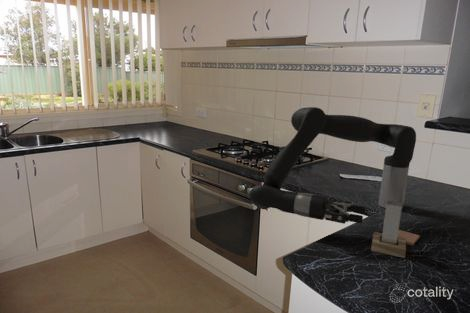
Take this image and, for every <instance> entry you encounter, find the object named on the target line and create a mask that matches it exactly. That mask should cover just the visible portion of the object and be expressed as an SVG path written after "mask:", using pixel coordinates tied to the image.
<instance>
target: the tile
mask: <svg viewBox="0 0 470 313" xmlns="http://www.w3.org/2000/svg"><path fill="white" fill-rule="evenodd" d="M398 237H403V238H405V240H406V245H409V246H414V245H415V243H417V241H418V240H419V239H420V235H418V234H416V233H415V234H414V233H413V232H412V233H411V232H408V231H404V230H401V229H399V230H398Z"/></svg>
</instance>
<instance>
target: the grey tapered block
mask: <svg viewBox="0 0 470 313" xmlns="http://www.w3.org/2000/svg"><path fill="white" fill-rule="evenodd" d="M402 210H403V209H402V203H399V202H393V201H387V204H386V208H385V213H384V218H383V219H384V220H383V226H382V241H381V242H383V243H388V244H393V245H396V243H397V237H398V230H400V229H399V228H400V222H401V216H402Z"/></svg>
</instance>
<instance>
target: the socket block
mask: <svg viewBox="0 0 470 313" xmlns="http://www.w3.org/2000/svg"><path fill="white" fill-rule="evenodd" d="M382 233H383V232H382ZM382 233H380V232H376V231H374V232H373V233H372V234H373V235H372V242H371V247H370V248H371V249H370V251H371V252H373V253H380V254H384V255H389V256H393V257H399V258H402V259H405V258H406V252H407V244H406V240H405V238H403V237H397V243H396V245H393V244H388V243H383V242H381V241H382Z"/></svg>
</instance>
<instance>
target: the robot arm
mask: <svg viewBox="0 0 470 313" xmlns="http://www.w3.org/2000/svg"><path fill="white" fill-rule="evenodd" d="M290 121H291V122H290V123H291V125H292V127H293V128H294V130H295V131H297V133H296V134H295V135H294V137H293V138H292V139H291V140H290V141H289V142H288V143H287V144H286V145H285V146H284V147H283V148H282V149H281V150H280V151H279V152H278V153H277V154H276V156H275V157H274V159H273V160H272V161H271V163H270V164H269V166H268V168H267V169H266V172H265V173H264V181H263V184H258V185H256V186H253V187H252V188H251V189H250V191H249V199H250V202H251V203H252V204H253V205H255V206H256V207H257V208H259V209H261V210H268V209H270V208H272V209H277V210H279V211H281V212H284V213H287V214H288V213H289V214H292V215H293V214H294V215H298V216H300V217H304V218H310V219H315V220H320V221H321V220H322V221H323V220H326V221H328V222H329V221H331V222H335V223H340V224H342V225H343V224H346V223H348V222H351V223H357V224H362V223H363V220H364V219H363V218H364V217H363V215H364V214H366V207H365V206H360V205H355V204H353V203H352V202H351V201H346V200H339V199H336V198H335V199H332V202H328V197H327V196H326V195H321V194H314V193H313V194H312V193H308V192H296V191H291V190H283V189H281V188H282V186H283V184H284V182H285V181H286V179H287V178H288V176H289V174H290V173H291V171H292V170H293V168H294V166H295V165H296V163H297V162H298V161H299V159H300V158H301V156H302V155H303V154H304V153H305V151H306V150H307V149H308V148H309V146H310V145H311V144H312V142H314V140H315V139H317V137H318V136H319V135H326V136H330V137H332V138H335V139H341V140H345V141H349V142H355V143H369V142H375V143H379V144H381V145H385V146H388V147H390V148H394V150H393V154H392V155H388V156H385V157H384V160H383V169H382V176H381V183H380V191H379V198H378V206H379V207H381V208H384V209H386V204H387V201H393V202H399V203H402V209H401V210H403V209H404V203H405V196H406V188H407V184H408V177H409V176H408V175H409V169H410V164H411V162H412V159H413V158H414V157H413V156H414V152H415V146H416V141H417V133H416V129H414V127H412V126H409V125H403V124H395V123H394V124H393V123H379V122H378V123H377V122H375V121H372V120H371V119H368V118H365V117H361V116H355V115H348V114H347V115H346V114H344V115H343V114H327V113H325V111H324V110H323V109H321V108H320V107H317V106H316V107H315V106H310V107H309V106H308V107H302V108H301V107H300V108H299V109H297V110H296V111H294V112H293V114H292V116H291V119H290Z"/></svg>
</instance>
